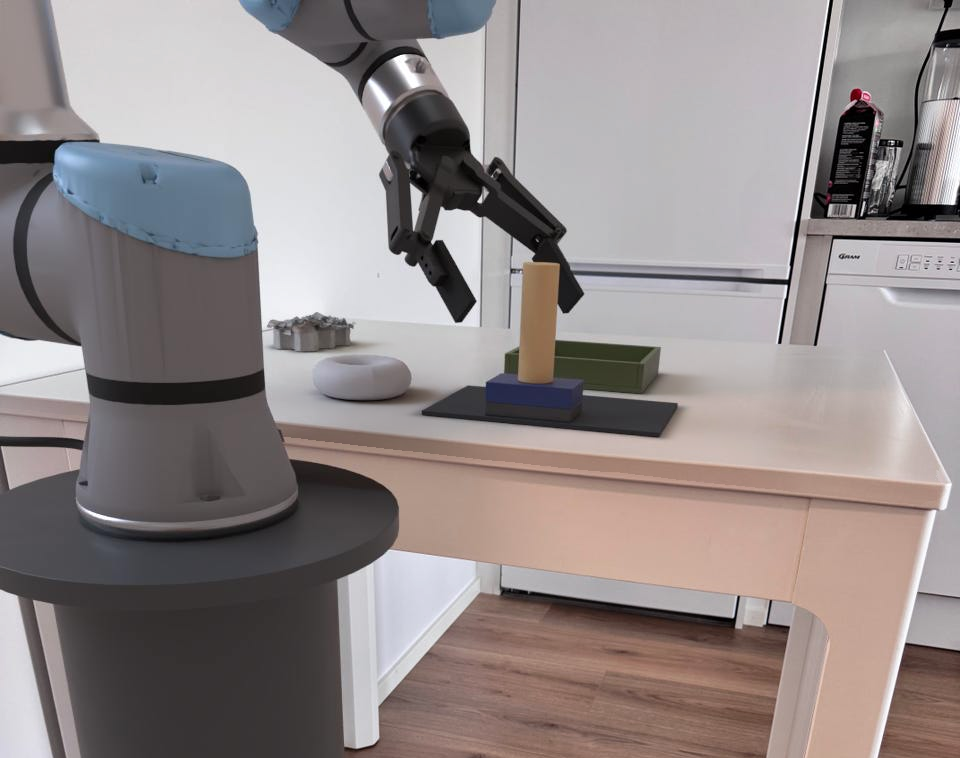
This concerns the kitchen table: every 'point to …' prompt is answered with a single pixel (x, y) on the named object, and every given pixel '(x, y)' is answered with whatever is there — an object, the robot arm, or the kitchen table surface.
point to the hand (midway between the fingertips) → (522, 308)
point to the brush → (536, 358)
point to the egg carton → (311, 332)
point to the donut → (361, 377)
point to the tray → (600, 365)
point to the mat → (594, 417)
